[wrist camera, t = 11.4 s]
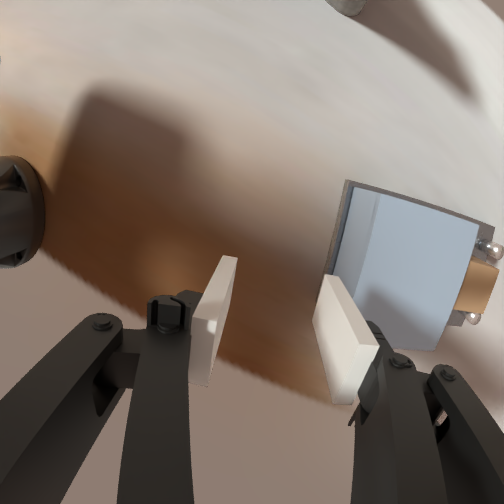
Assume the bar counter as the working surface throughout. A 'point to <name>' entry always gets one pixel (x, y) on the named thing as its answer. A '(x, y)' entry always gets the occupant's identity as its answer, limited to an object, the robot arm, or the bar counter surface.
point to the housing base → (485, 231)
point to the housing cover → (404, 266)
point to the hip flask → (347, 6)
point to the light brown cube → (476, 286)
